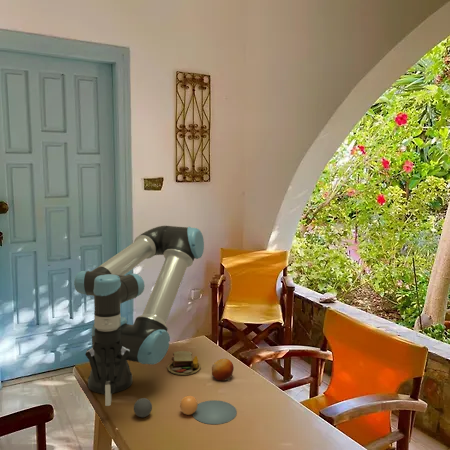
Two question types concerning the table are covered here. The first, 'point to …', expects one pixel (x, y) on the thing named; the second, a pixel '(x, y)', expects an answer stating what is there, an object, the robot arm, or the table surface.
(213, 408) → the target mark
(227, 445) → the table surface
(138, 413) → the dark grey ball
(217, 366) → the fruit
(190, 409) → the orange ball
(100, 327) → the robot arm
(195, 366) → the toy sandwich meal
